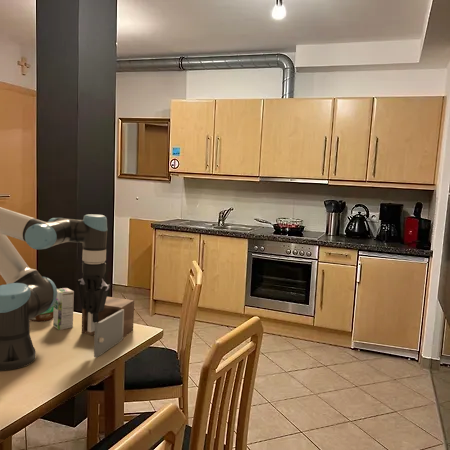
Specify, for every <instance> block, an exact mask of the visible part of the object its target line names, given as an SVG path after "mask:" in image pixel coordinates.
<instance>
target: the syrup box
mask: <svg viewBox="0 0 450 450" xmlns="http://www.w3.org/2000/svg"><path fill="white" fill-rule="evenodd" d="M74 297H75V291H74V290H72V289H70V288H68V287H62V288H61V287H60V288H57V298H56V301H55V303H54V312H53V319H52V320H53V322H52V325H53V327H54V328H56V329H57V330H58V331H61V330H62V331H63V330H65V329H71V328H74V326H73V325H74V302H75V301H74Z"/></svg>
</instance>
